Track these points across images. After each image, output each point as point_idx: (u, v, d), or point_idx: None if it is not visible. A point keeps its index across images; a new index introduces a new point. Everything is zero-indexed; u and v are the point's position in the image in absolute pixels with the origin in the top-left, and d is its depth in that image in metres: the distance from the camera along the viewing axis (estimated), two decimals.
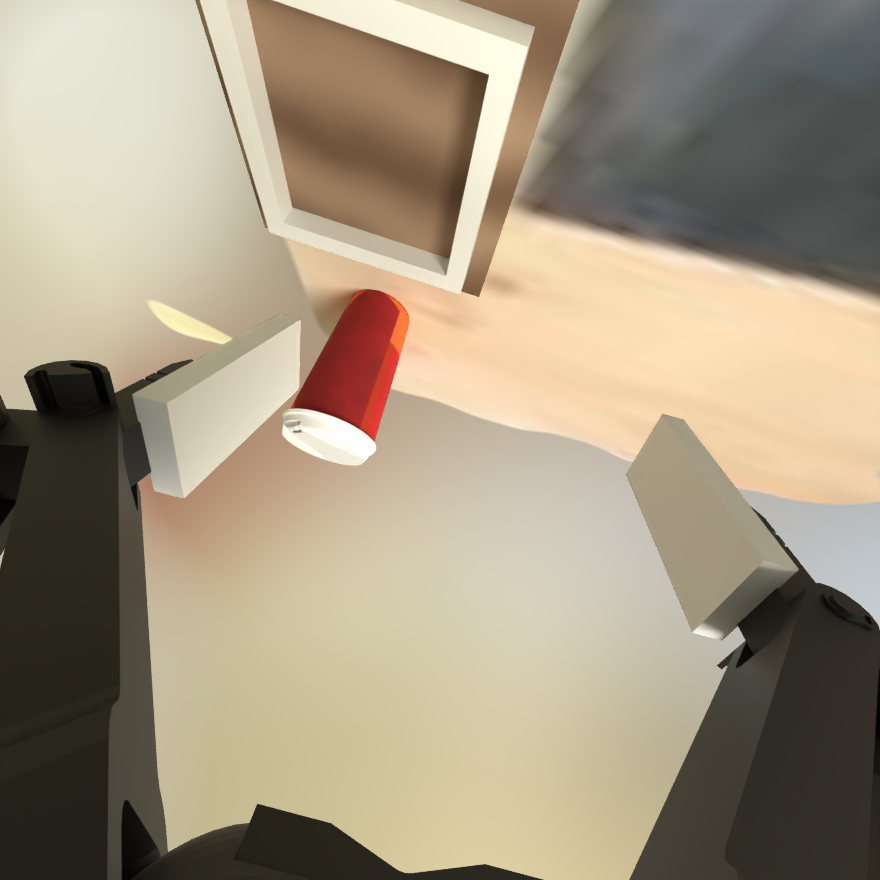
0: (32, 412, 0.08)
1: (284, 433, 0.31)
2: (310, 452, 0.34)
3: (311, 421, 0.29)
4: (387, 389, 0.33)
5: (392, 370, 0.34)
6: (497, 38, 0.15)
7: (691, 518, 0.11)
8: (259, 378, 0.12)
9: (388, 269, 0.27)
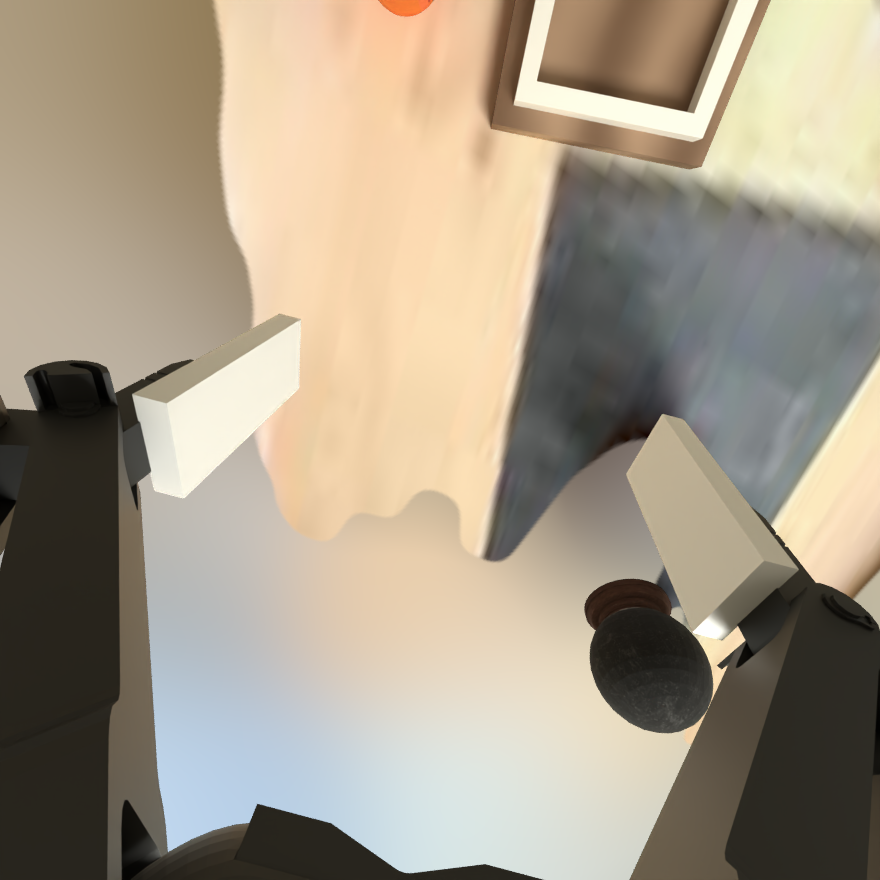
0: (32, 412, 0.08)
1: None
2: None
3: None
4: None
5: None
6: (709, 117, 0.28)
7: (691, 518, 0.11)
8: (259, 378, 0.12)
9: None
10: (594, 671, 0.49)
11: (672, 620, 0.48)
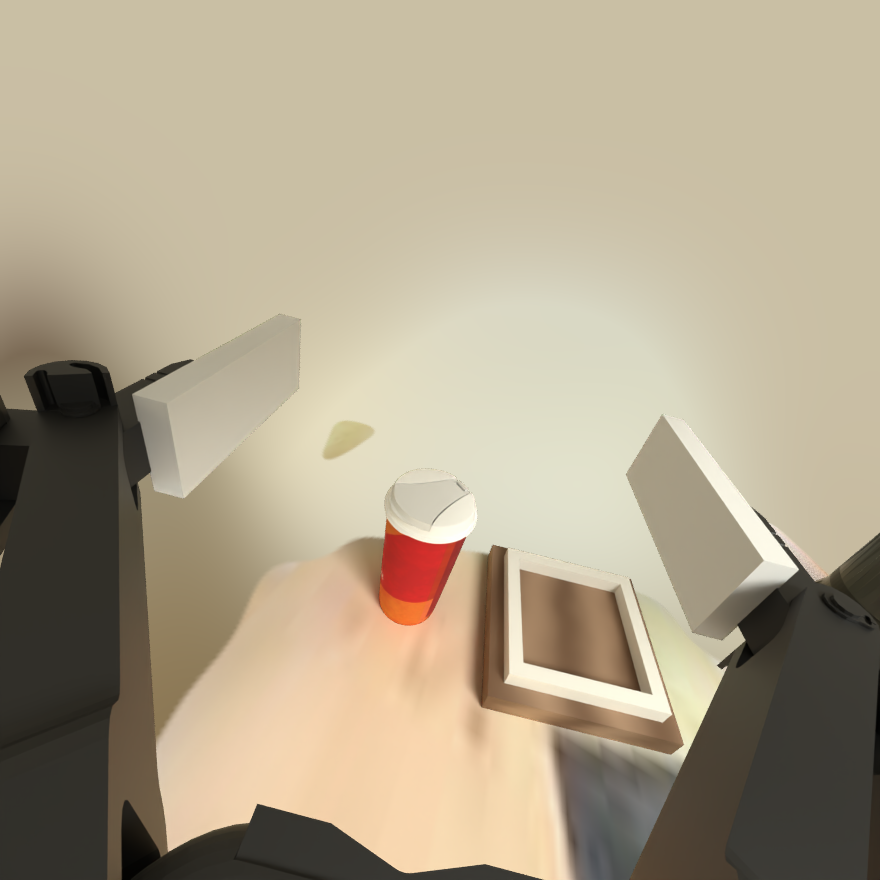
0: (32, 412, 0.08)
1: (446, 473, 0.35)
2: (408, 476, 0.33)
3: None
4: (423, 578, 0.33)
5: (421, 590, 0.34)
6: (665, 698, 0.33)
7: (691, 518, 0.11)
8: (259, 378, 0.12)
9: (510, 617, 0.36)
10: None
11: None
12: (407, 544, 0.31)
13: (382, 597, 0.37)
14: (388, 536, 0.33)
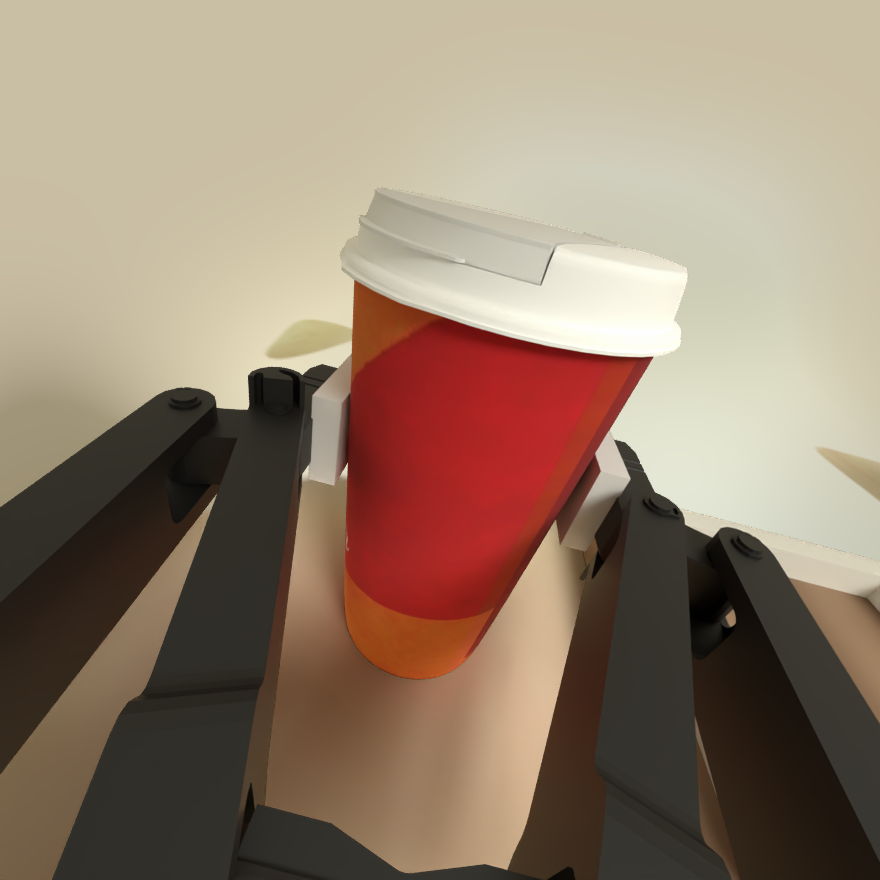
0: (230, 410, 0.10)
1: None
2: (429, 196, 0.10)
3: None
4: (479, 537, 0.09)
5: (467, 582, 0.10)
6: None
7: None
8: None
9: None
10: None
11: None
12: (428, 381, 0.07)
13: (349, 603, 0.14)
14: (356, 385, 0.09)
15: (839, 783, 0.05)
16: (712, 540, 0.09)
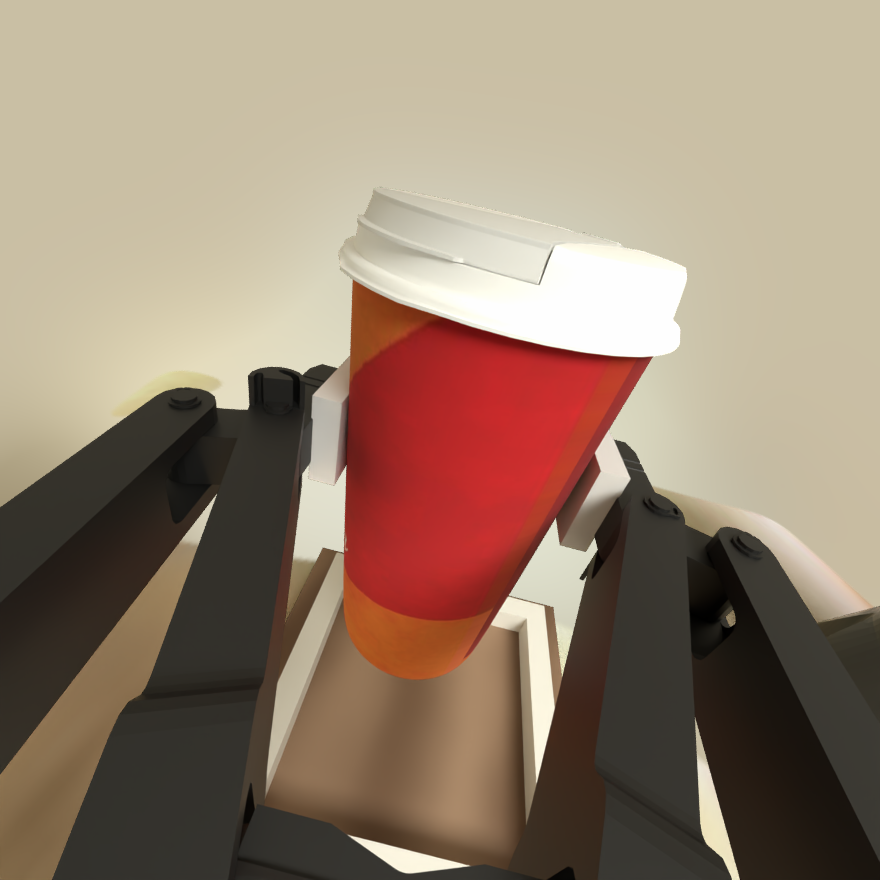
0: (230, 410, 0.10)
1: (542, 222, 0.11)
2: (428, 196, 0.10)
3: None
4: (477, 538, 0.09)
5: (466, 583, 0.10)
6: None
7: None
8: None
9: (276, 693, 0.18)
10: None
11: None
12: (426, 381, 0.07)
13: (348, 603, 0.14)
14: (355, 385, 0.09)
15: (839, 783, 0.05)
16: (712, 540, 0.09)
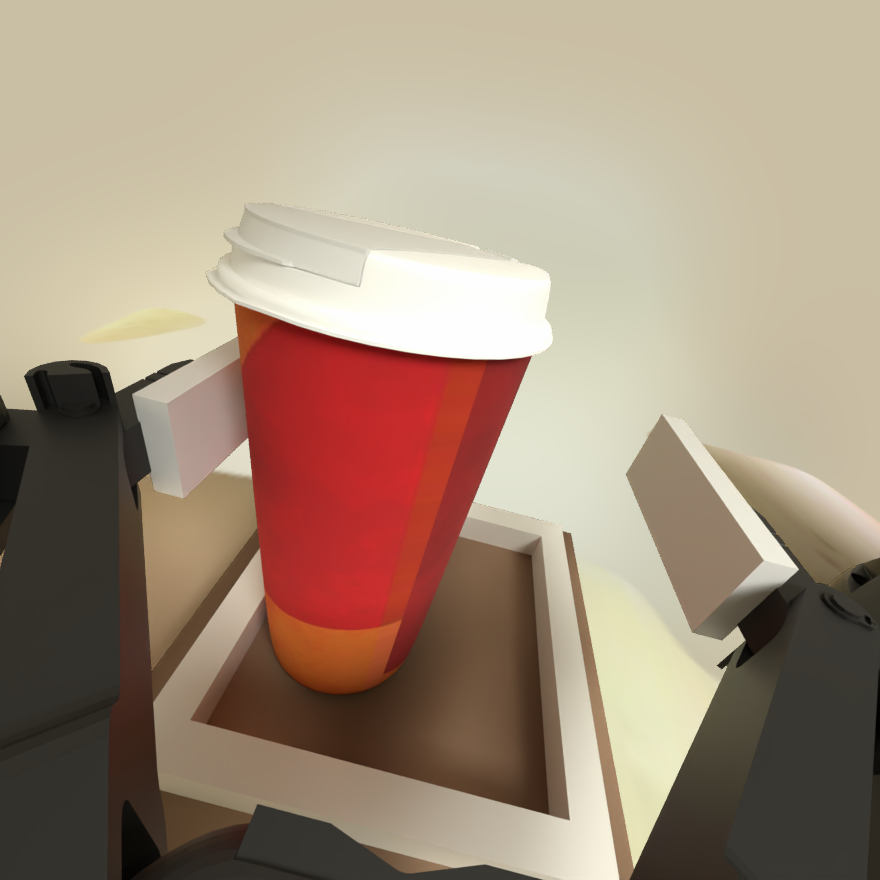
0: (32, 412, 0.08)
1: (451, 240, 0.12)
2: (330, 213, 0.10)
3: None
4: (358, 542, 0.09)
5: (358, 590, 0.10)
6: (607, 832, 0.11)
7: (691, 518, 0.11)
8: None
9: (233, 593, 0.15)
10: None
11: None
12: (281, 382, 0.08)
13: (267, 612, 0.14)
14: (243, 389, 0.09)
15: None
16: None
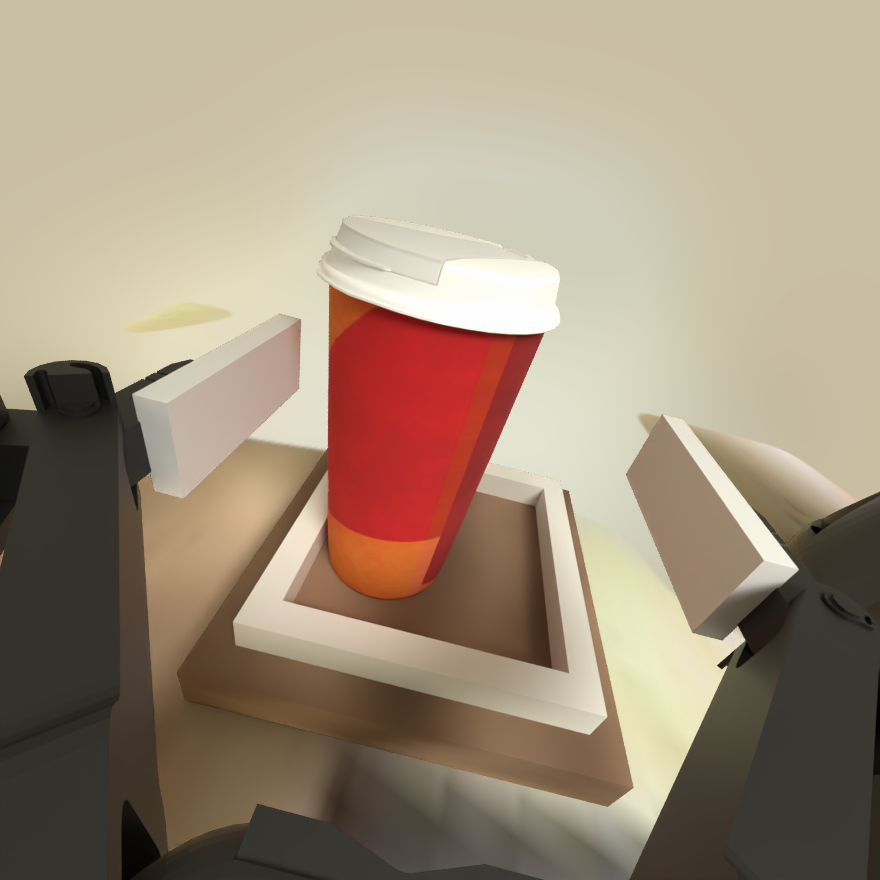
0: (32, 412, 0.08)
1: (480, 239, 0.15)
2: (389, 220, 0.14)
3: None
4: (417, 469, 0.13)
5: (412, 508, 0.14)
6: (597, 681, 0.15)
7: (691, 518, 0.11)
8: (259, 378, 0.12)
9: (299, 520, 0.18)
10: None
11: None
12: (373, 350, 0.11)
13: (330, 536, 0.17)
14: (331, 357, 0.13)
15: None
16: None
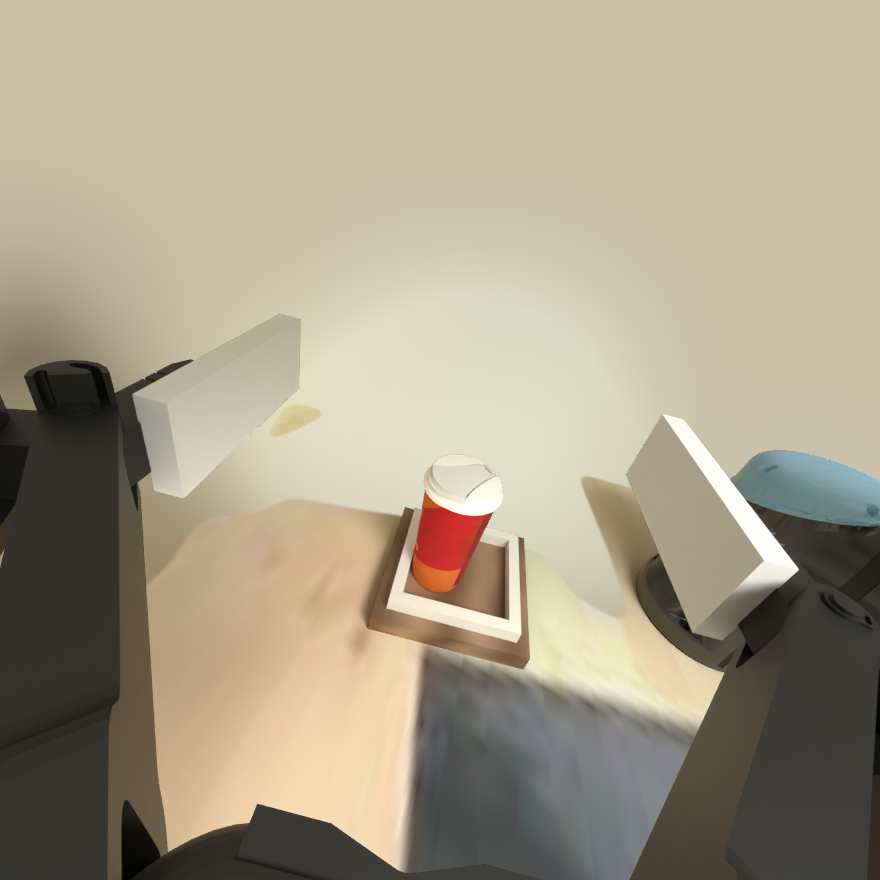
0: (32, 412, 0.08)
1: (476, 459, 0.40)
2: (444, 459, 0.39)
3: None
4: (454, 547, 0.38)
5: (452, 559, 0.39)
6: (519, 623, 0.40)
7: (691, 518, 0.11)
8: (259, 378, 0.12)
9: (401, 559, 0.44)
10: None
11: None
12: (443, 516, 0.36)
13: (416, 567, 0.43)
14: (426, 510, 0.38)
15: None
16: None
